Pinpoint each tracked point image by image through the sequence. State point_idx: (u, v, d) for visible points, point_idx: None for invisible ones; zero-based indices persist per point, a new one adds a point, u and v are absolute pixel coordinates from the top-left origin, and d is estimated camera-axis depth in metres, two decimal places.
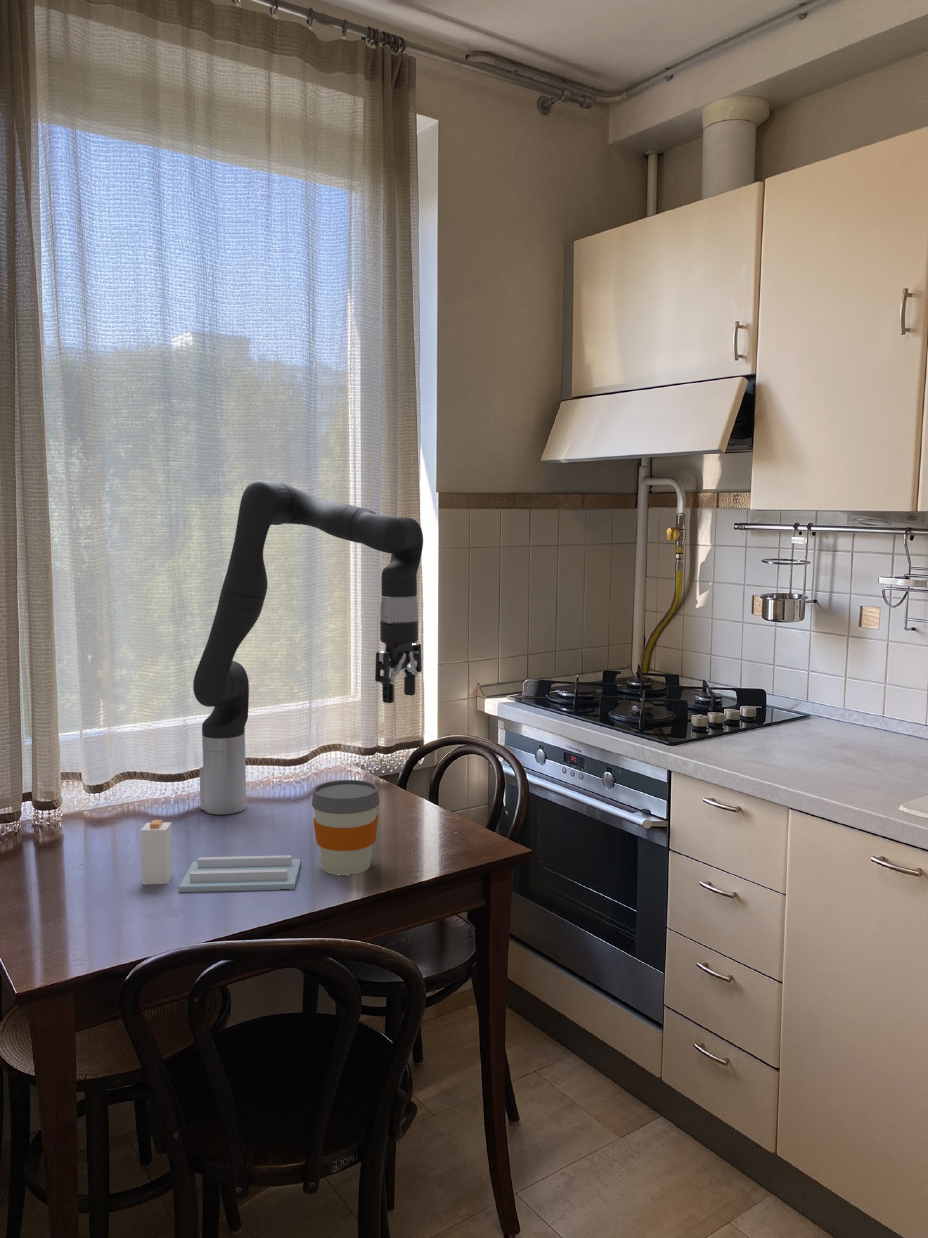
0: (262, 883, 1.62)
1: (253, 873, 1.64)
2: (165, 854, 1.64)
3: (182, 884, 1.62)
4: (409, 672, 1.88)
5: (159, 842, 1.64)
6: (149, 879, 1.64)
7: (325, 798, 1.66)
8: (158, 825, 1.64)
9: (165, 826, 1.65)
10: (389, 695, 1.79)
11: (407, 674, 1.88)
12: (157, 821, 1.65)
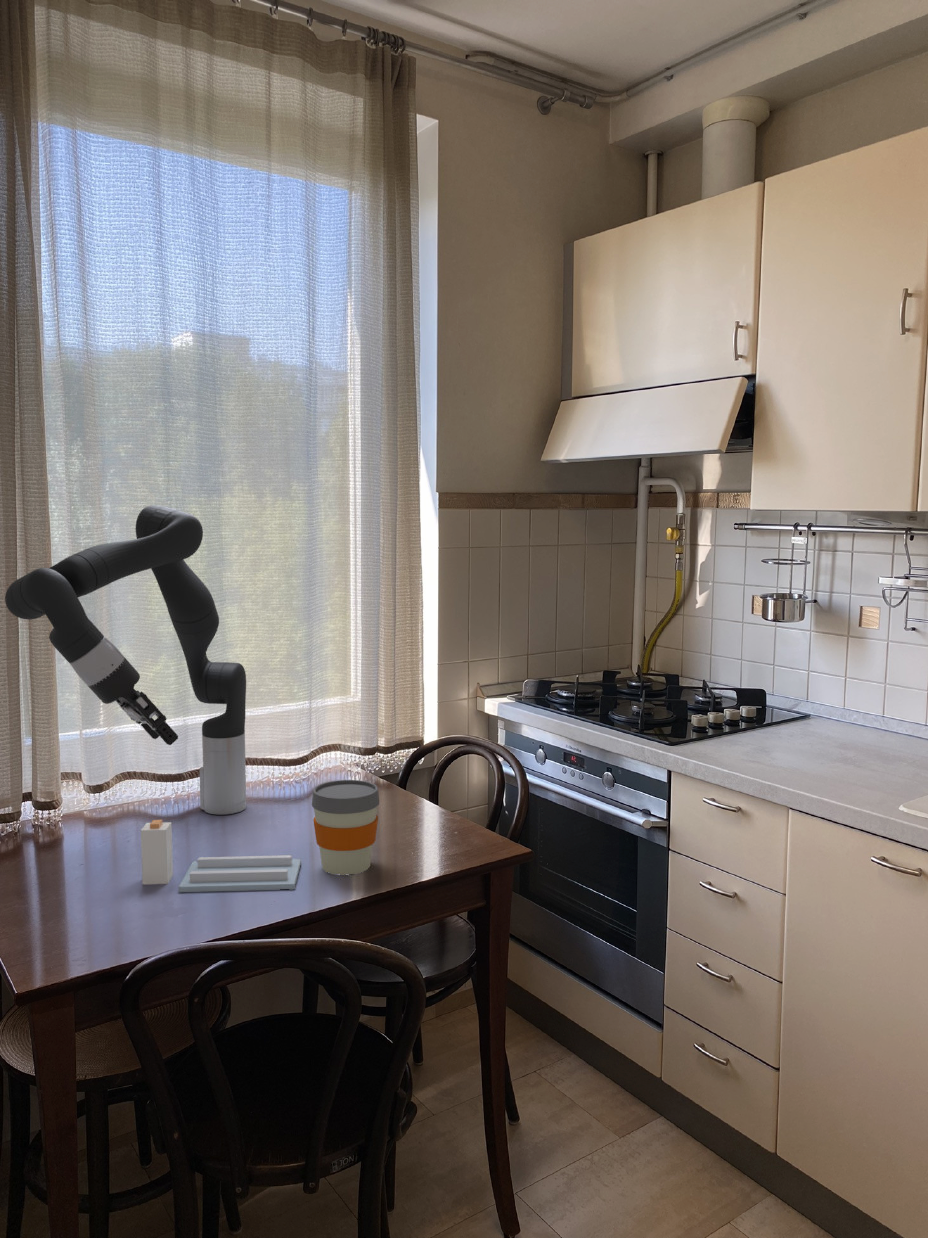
0: (262, 883, 1.62)
1: (253, 873, 1.64)
2: (165, 854, 1.64)
3: (182, 884, 1.62)
4: None
5: (159, 842, 1.64)
6: (149, 879, 1.64)
7: (325, 798, 1.66)
8: (158, 825, 1.64)
9: (165, 826, 1.65)
10: None
11: None
12: (157, 821, 1.65)
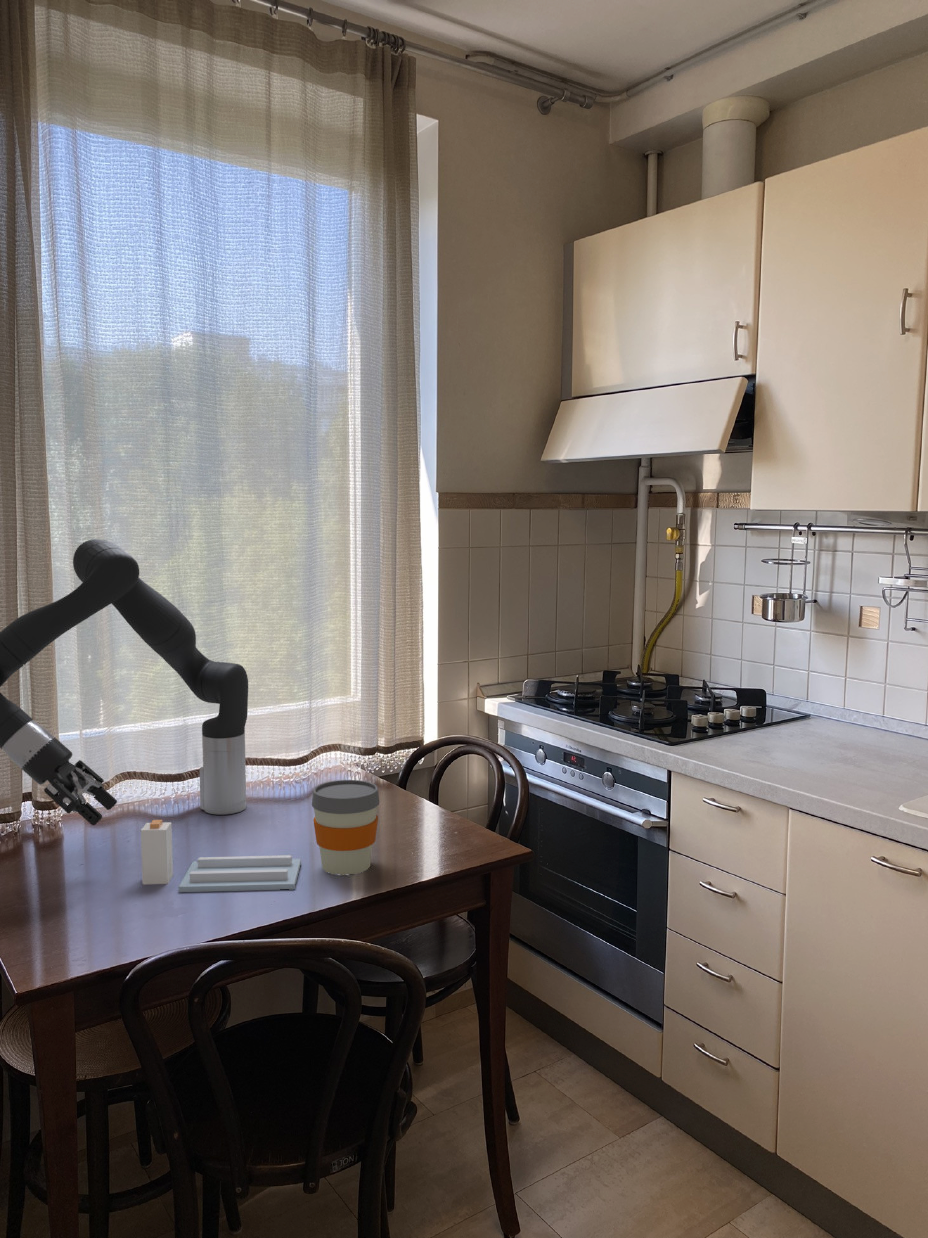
0: (262, 883, 1.62)
1: (253, 873, 1.64)
2: (165, 854, 1.64)
3: (182, 884, 1.62)
4: None
5: (159, 842, 1.64)
6: (149, 879, 1.64)
7: (325, 798, 1.66)
8: (158, 825, 1.64)
9: (165, 826, 1.65)
10: None
11: None
12: (157, 821, 1.65)
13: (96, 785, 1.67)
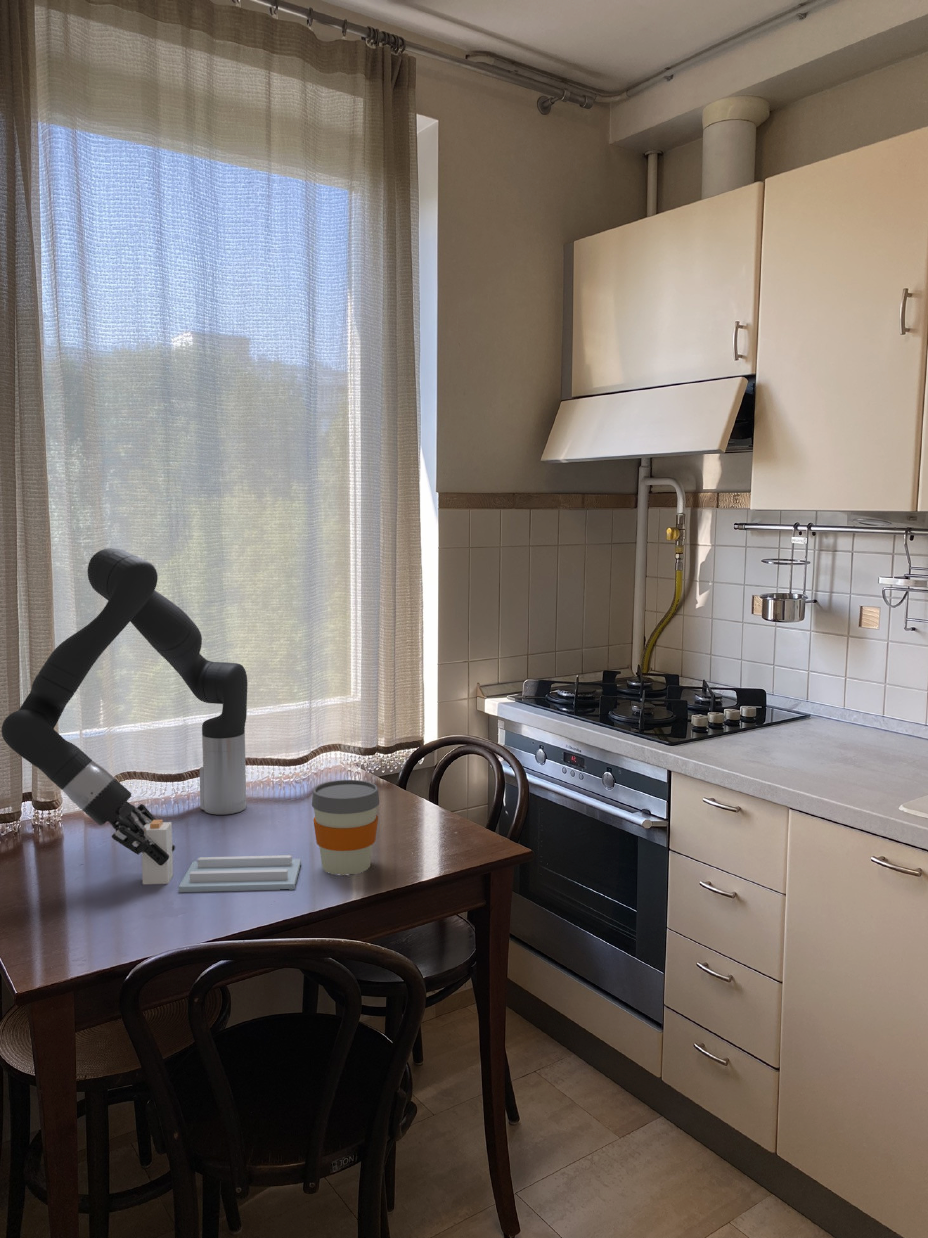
0: (262, 883, 1.62)
1: (253, 873, 1.64)
2: None
3: (182, 884, 1.62)
4: None
5: (159, 842, 1.64)
6: (149, 879, 1.64)
7: (325, 798, 1.66)
8: (158, 825, 1.64)
9: (165, 826, 1.65)
10: None
11: None
12: (157, 821, 1.65)
13: None
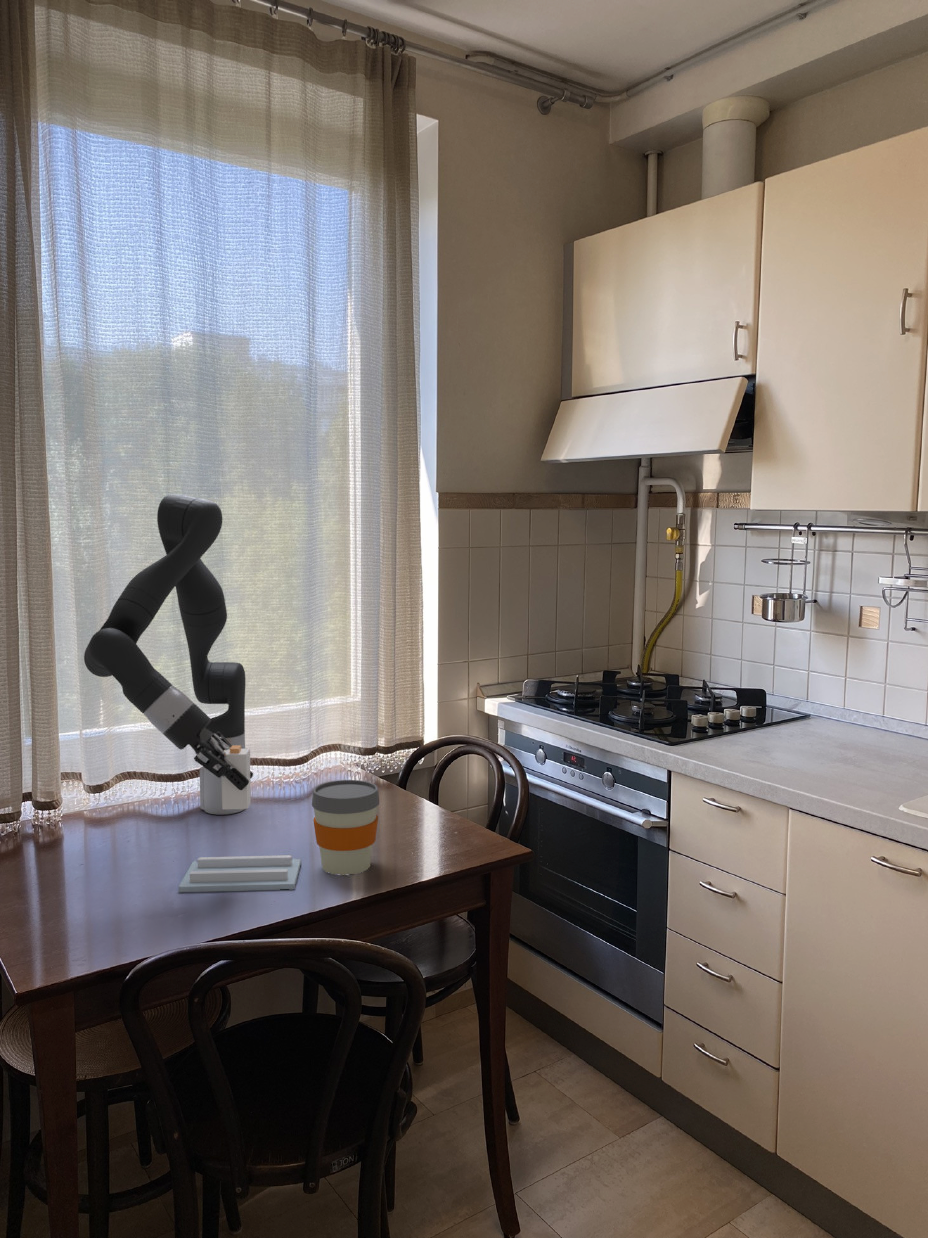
0: (262, 883, 1.62)
1: (253, 873, 1.64)
2: None
3: (182, 884, 1.62)
4: None
5: (239, 767, 1.63)
6: (229, 804, 1.64)
7: (325, 798, 1.66)
8: (238, 750, 1.64)
9: (244, 751, 1.65)
10: None
11: None
12: (236, 746, 1.65)
13: None
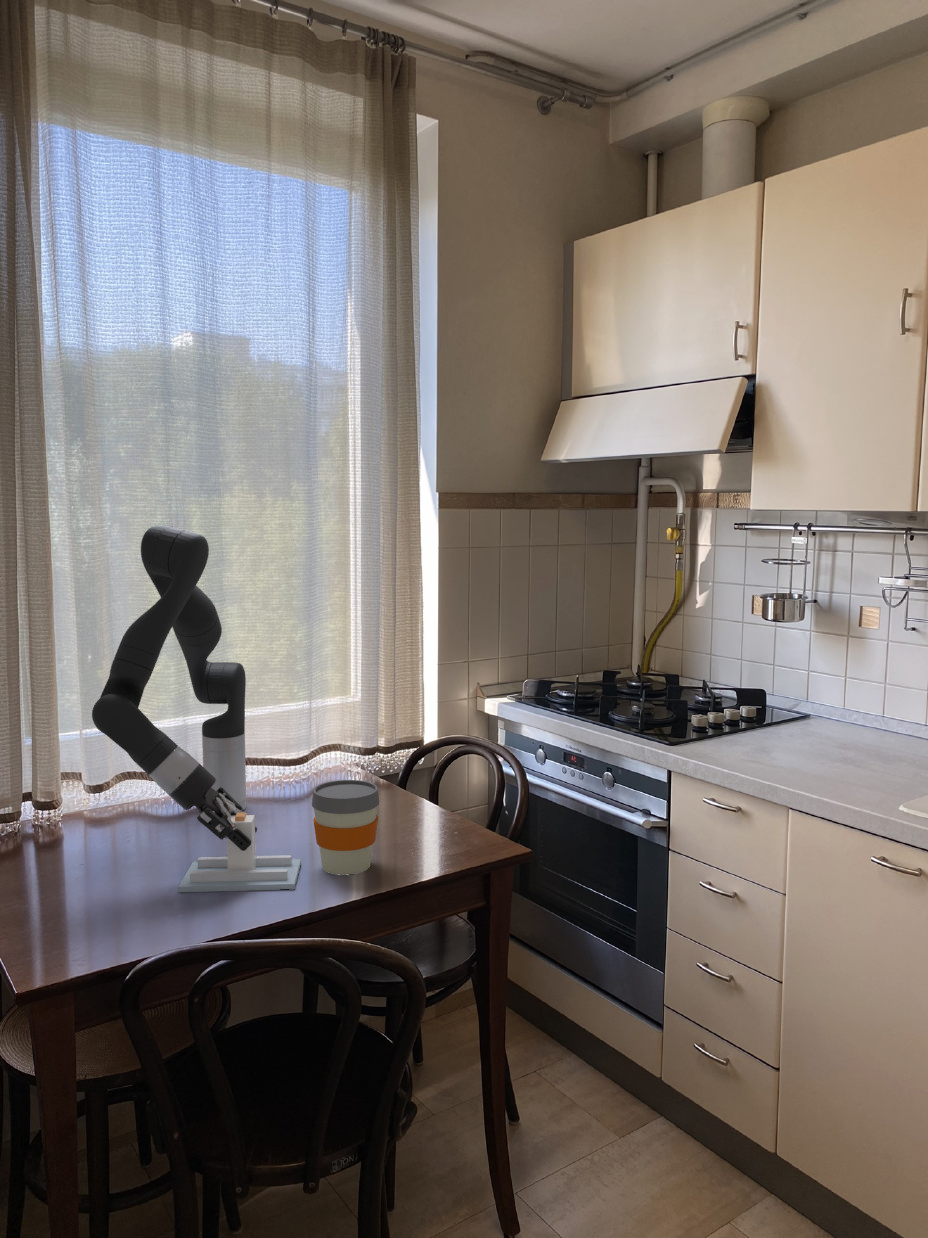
0: (262, 883, 1.62)
1: (253, 873, 1.64)
2: (250, 846, 1.65)
3: (182, 884, 1.62)
4: None
5: None
6: None
7: (325, 798, 1.66)
8: (243, 818, 1.65)
9: (249, 819, 1.66)
10: None
11: None
12: (241, 814, 1.67)
13: (237, 812, 1.69)
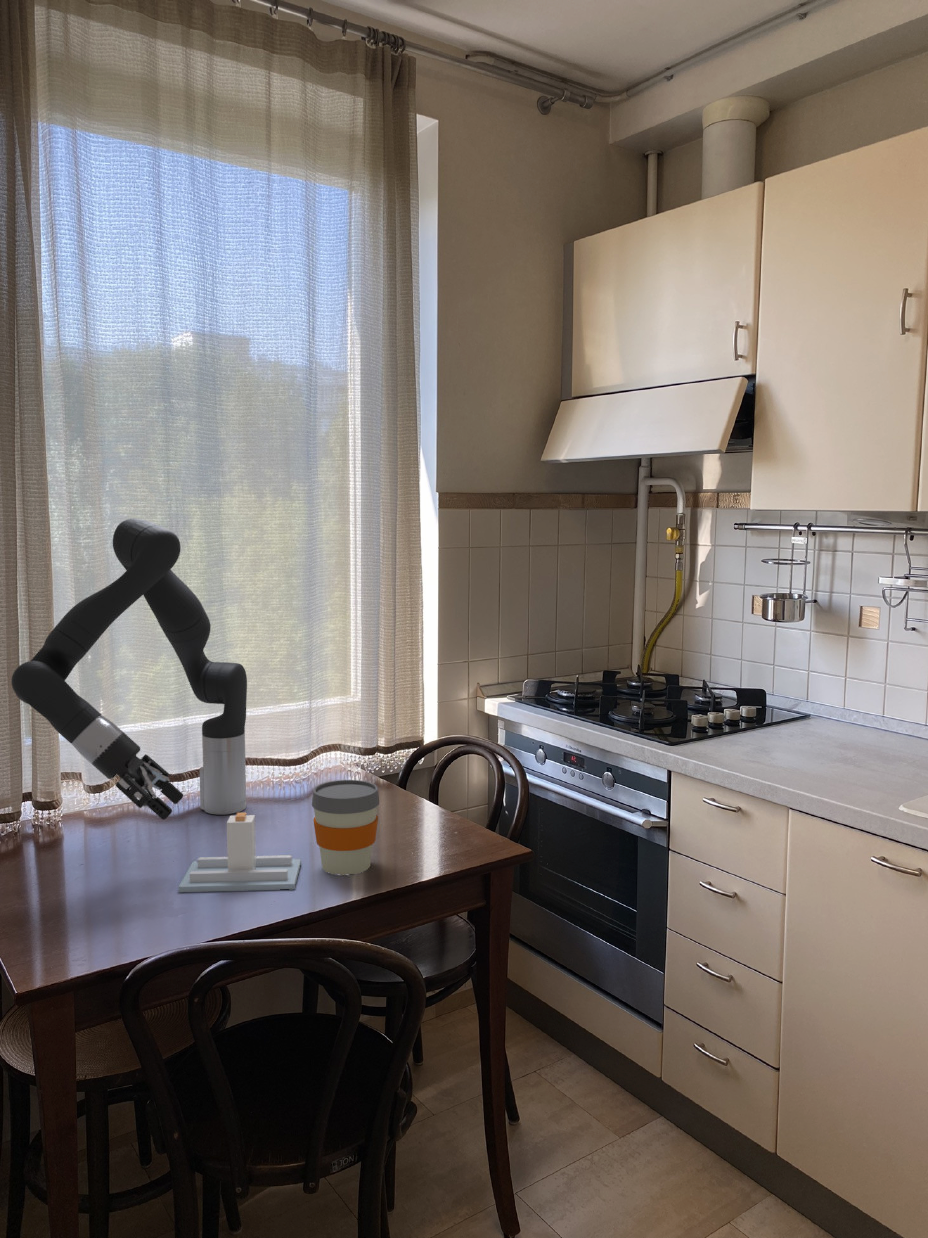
0: (262, 883, 1.62)
1: (253, 873, 1.64)
2: (250, 846, 1.65)
3: (182, 884, 1.62)
4: None
5: (244, 835, 1.65)
6: None
7: (325, 798, 1.66)
8: (243, 818, 1.65)
9: (250, 819, 1.66)
10: None
11: None
12: (242, 814, 1.67)
13: (163, 779, 1.68)
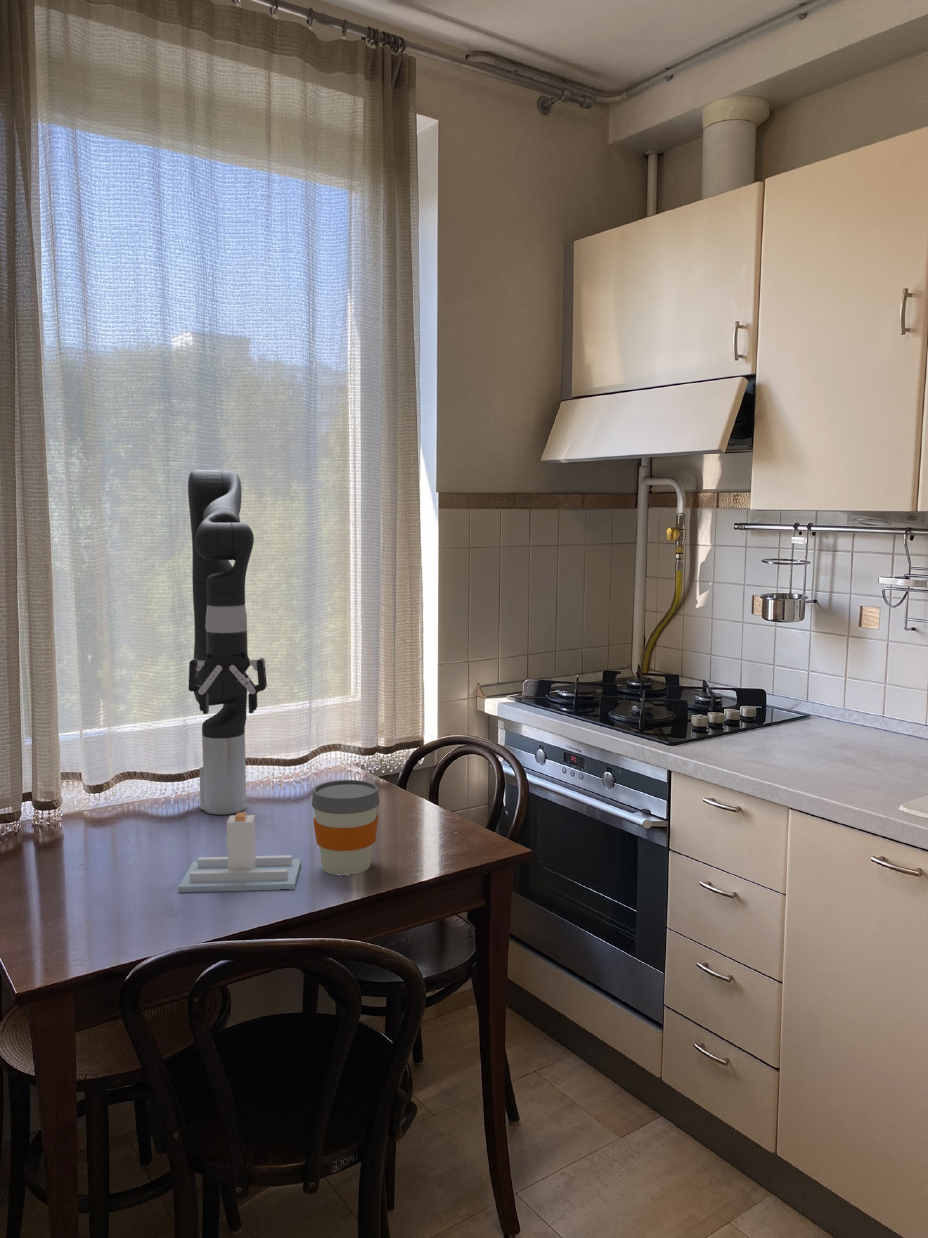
0: (262, 883, 1.62)
1: (253, 873, 1.64)
2: (250, 846, 1.65)
3: (182, 884, 1.62)
4: None
5: (244, 835, 1.65)
6: None
7: (325, 798, 1.66)
8: (243, 818, 1.65)
9: (250, 819, 1.66)
10: (201, 705, 1.74)
11: None
12: (242, 814, 1.67)
13: (209, 687, 1.76)
